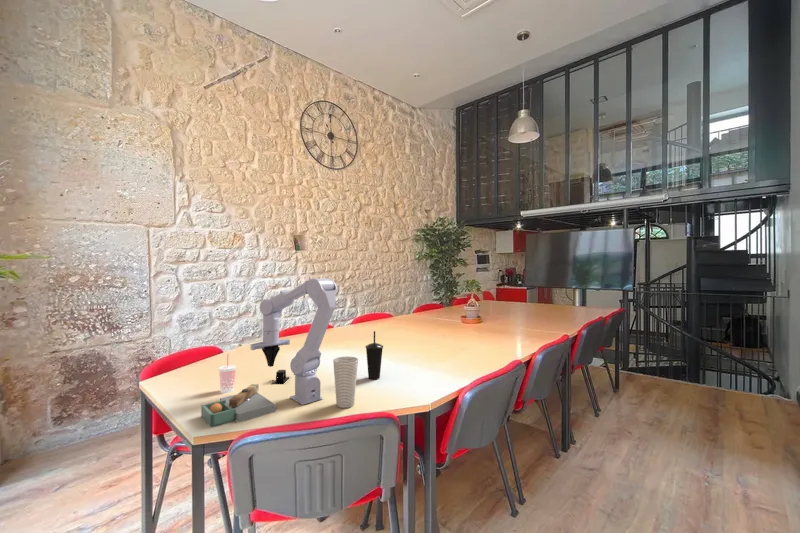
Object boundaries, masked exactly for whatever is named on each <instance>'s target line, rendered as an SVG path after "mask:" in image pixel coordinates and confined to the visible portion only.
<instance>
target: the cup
mask: <svg viewBox="0 0 800 533" xmlns="http://www.w3.org/2000/svg"><path fill="white" fill-rule="evenodd" d="M358 362H359V358H357V357H355V356H340V357H339V356H338V357H335V358H334V359H333V375H334V387H335V388H334V389H335V400H336V401H335V402H336V406H337V408H339V409H340V408H341V409H347V408H351V407H353V406H354V405H355V400H356V398H355V397H356V390H357V389H356V386H357V377H358V366H359V365H358V364H359V363H358Z"/></svg>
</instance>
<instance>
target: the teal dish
mask: <svg viewBox="0 0 800 533" xmlns="http://www.w3.org/2000/svg"><path fill="white" fill-rule="evenodd" d="M215 403H219V404H221V406H222V411H221V412H219V413H215V414H213V413H212V412H211V411H210V407H211V406H212V405H213V404H215ZM200 410H201V414H200V415H201V418H202V419H203V420H204V421H205V422H206V423H207V425H208V426H209V427H210V428H213V427H216V426H221V425H224V424H227V423H231V422H234V421H236V408H234V409H231V408H230V407H229V406H228V405H227V404H226V400H221V401H220V400H218V401H214V402H210V403H209V402H208V403H205V404H201V409H200Z"/></svg>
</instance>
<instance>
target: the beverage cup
mask: <svg viewBox="0 0 800 533" xmlns="http://www.w3.org/2000/svg"><path fill="white" fill-rule="evenodd" d="M236 369H237V365H234V364H229V353H227V354H226V365H221V366H219V367H218V372H219V386H220V393H221V394H228V393H232V392H234V390H235V382H236V381H235V380H236Z"/></svg>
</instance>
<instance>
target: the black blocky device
mask: <svg viewBox="0 0 800 533" xmlns="http://www.w3.org/2000/svg"><path fill="white" fill-rule="evenodd" d="M275 374H276V375H275V379H276V380H275V379H274V380H275V381H274V380H273V381H272V383H271V385H285V384H286V383H287V382H288V381H289V380H290V379H289V377H290V376H287V370H286V369H278V370H277V371H276V373H275ZM277 377H278V378H277ZM288 379H289V380H288ZM287 380H288V381H287ZM286 381H287V382H286ZM285 382H286V383H285ZM284 383H285V384H284Z"/></svg>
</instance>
